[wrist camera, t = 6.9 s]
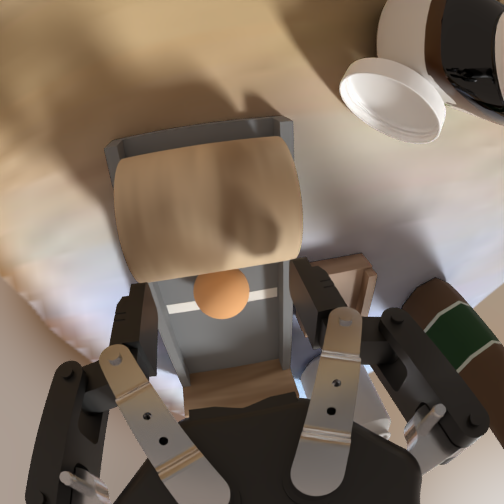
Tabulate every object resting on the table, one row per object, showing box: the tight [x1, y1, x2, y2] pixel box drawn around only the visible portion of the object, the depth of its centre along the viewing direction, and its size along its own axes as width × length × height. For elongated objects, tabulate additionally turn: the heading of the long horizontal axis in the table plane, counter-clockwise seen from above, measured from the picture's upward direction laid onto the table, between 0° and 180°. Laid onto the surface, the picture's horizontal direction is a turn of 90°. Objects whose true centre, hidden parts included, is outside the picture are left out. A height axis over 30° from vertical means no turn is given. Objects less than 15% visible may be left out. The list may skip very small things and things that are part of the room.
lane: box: [104, 116, 294, 387], centre depth 24 cm, size 23×11×2 cm, turn 4°
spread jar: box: [339, 0, 504, 144], centre depth 13 cm, size 12×11×12 cm
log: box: [114, 136, 303, 283], centre depth 17 cm, size 7×8×7 cm
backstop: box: [183, 359, 299, 418], centre depth 29 cm, size 2×11×6 cm, turn 94°
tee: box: [296, 253, 377, 338], centre depth 26 cm, size 6×6×3 cm
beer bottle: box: [402, 278, 504, 449], centre depth 22 cm, size 8×8×24 cm
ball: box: [193, 269, 249, 319], centre depth 22 cm, size 4×4×4 cm
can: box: [301, 355, 391, 440], centre depth 30 cm, size 8×8×12 cm
